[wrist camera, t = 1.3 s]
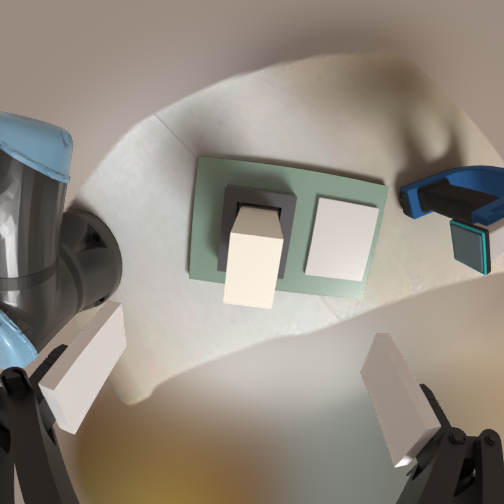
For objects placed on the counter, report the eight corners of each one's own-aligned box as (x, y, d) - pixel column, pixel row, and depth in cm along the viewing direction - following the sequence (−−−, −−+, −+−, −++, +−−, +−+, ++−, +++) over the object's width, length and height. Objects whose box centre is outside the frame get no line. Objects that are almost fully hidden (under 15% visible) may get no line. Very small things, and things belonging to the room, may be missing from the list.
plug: (237, 249, 37) (223, 302, 24) (242, 202, 35) (230, 232, 22) (268, 253, 37) (271, 308, 24) (275, 206, 35) (283, 239, 22)
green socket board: (190, 275, 40) (183, 288, 36) (200, 156, 34) (192, 156, 31) (359, 296, 40) (367, 310, 36) (385, 185, 35) (398, 189, 31)
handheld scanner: (382, 190, 35) (478, 234, 16) (467, 159, 32) (567, 181, 14) (391, 222, 36) (480, 285, 18) (473, 188, 34) (568, 223, 15)
